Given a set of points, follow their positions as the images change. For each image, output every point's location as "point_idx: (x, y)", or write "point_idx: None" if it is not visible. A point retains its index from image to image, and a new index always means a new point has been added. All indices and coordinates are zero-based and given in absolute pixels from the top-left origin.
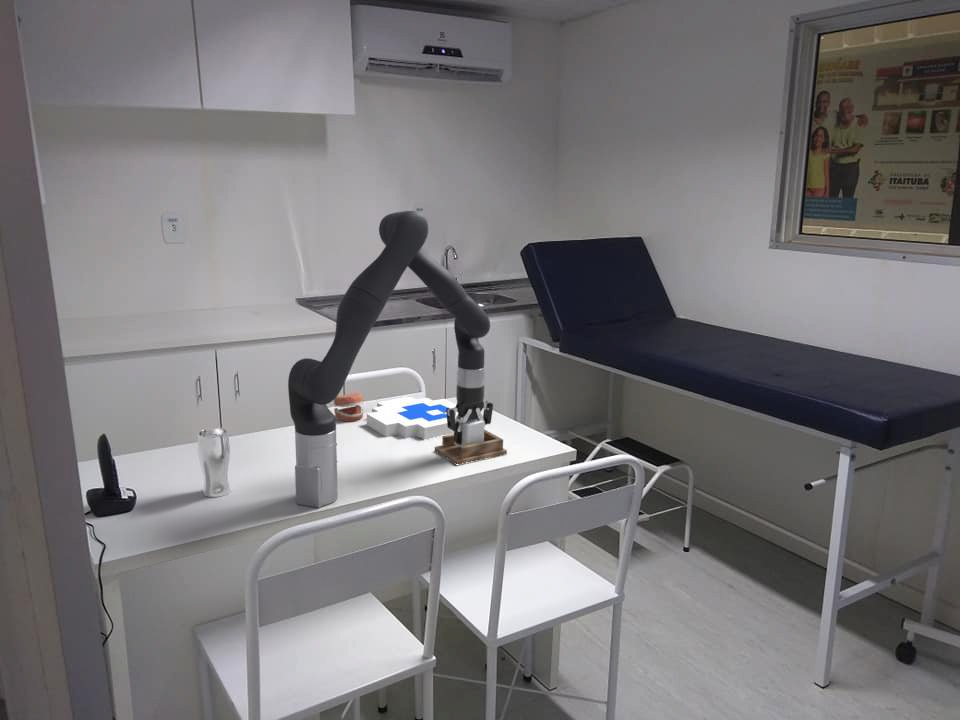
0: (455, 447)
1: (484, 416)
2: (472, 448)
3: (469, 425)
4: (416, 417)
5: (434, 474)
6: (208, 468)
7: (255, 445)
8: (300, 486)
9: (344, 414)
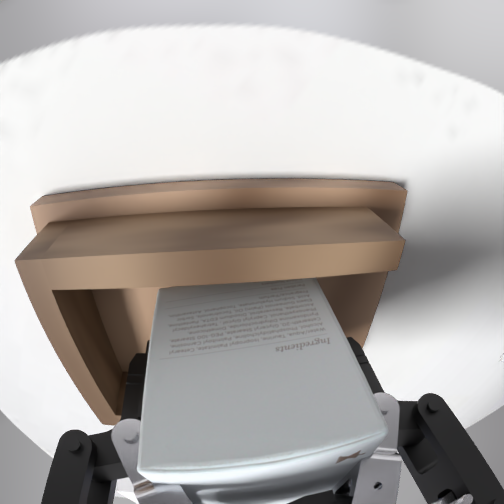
0: None
1: (103, 495)
2: (314, 233)
3: (366, 434)
4: None
5: (495, 161)
6: None
7: (492, 402)
8: None
9: None
